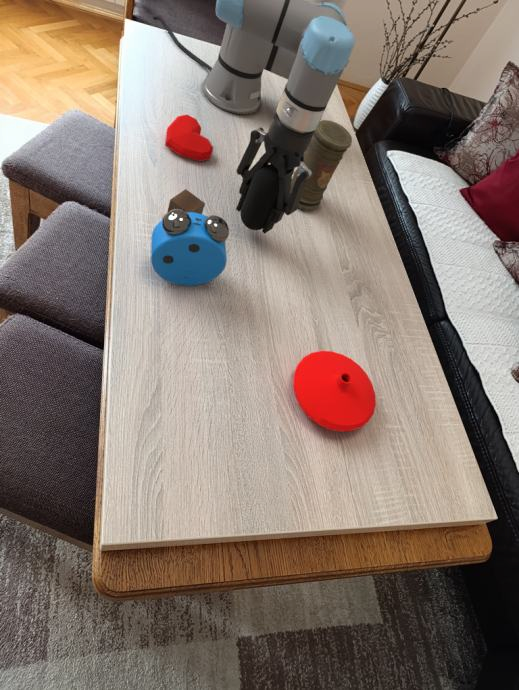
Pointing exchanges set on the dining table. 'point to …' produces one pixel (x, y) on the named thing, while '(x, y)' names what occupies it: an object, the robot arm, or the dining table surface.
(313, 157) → the container
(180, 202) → the walnut block
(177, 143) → the heart
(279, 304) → the dining table surface
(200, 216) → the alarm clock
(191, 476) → the dining table surface
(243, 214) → the decorative object
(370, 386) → the flat cone with hole
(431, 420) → the dining table surface
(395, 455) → the dining table surface
